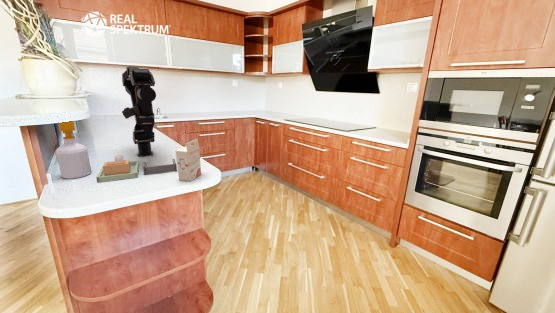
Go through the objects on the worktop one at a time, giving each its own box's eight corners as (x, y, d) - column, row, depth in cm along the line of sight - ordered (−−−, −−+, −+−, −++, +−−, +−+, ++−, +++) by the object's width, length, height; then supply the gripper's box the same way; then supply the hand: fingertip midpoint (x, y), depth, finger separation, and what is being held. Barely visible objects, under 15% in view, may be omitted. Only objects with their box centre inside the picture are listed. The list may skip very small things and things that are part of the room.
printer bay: (144, 168, 102) (143, 161, 102) (175, 165, 108) (174, 158, 107) (144, 175, 96) (143, 167, 95) (177, 171, 101) (176, 164, 100)
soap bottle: (89, 169, 100) (77, 108, 93) (93, 175, 94) (80, 110, 87) (60, 174, 94) (45, 109, 87) (63, 181, 88) (46, 112, 81)
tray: (104, 168, 101) (103, 164, 101) (139, 165, 107) (138, 160, 106) (97, 182, 87) (96, 177, 87) (137, 177, 93) (136, 172, 92)
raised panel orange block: (132, 167, 103) (130, 154, 101) (130, 176, 93) (128, 162, 91) (109, 169, 99) (107, 156, 98) (105, 179, 90) (102, 165, 88)
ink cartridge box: (190, 172, 99) (187, 137, 95) (201, 174, 98) (199, 138, 94) (177, 180, 91) (174, 142, 87) (190, 181, 90) (186, 143, 86)
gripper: (123, 98, 107) (129, 133, 112) (118, 102, 91) (125, 142, 96) (152, 98, 112) (156, 132, 116) (152, 101, 96) (156, 140, 100)
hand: (148, 136), depth 107 cm, fingers open, 9 cm apart
